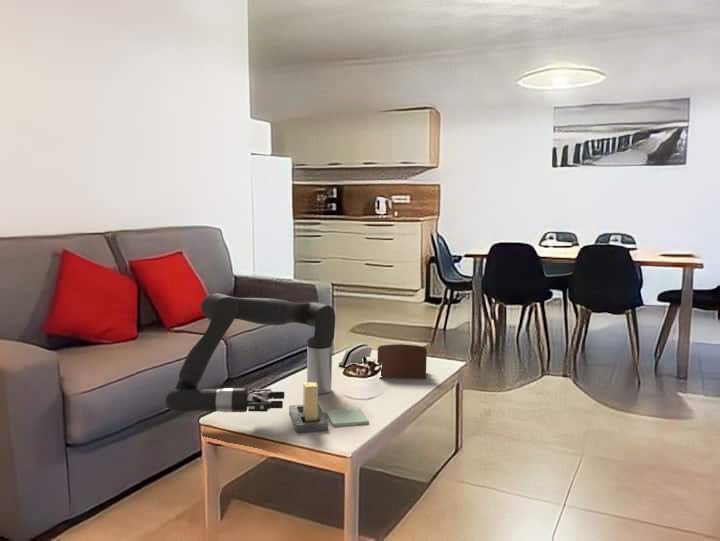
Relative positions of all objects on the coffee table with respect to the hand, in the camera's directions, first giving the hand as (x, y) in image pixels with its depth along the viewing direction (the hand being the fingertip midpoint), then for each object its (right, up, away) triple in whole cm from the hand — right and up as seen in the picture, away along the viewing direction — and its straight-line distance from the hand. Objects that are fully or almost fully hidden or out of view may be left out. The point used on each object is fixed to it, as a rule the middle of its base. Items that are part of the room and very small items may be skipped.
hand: (283, 399), depth 197 cm
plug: (+8, -9, +2) cm, 12 cm away
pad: (+20, -8, +9) cm, 23 cm away
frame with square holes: (+7, -8, +6) cm, 13 cm away
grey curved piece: (+23, 0, +73) cm, 76 cm away
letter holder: (+41, -2, +58) cm, 72 cm away
